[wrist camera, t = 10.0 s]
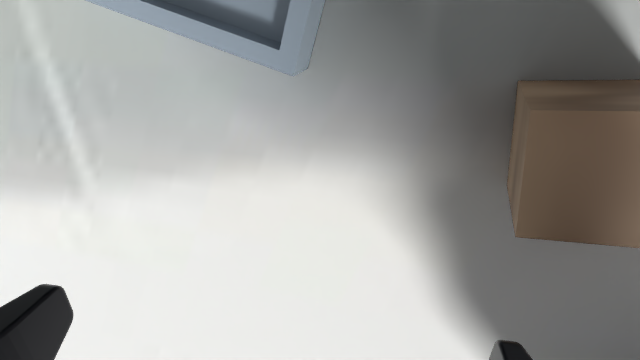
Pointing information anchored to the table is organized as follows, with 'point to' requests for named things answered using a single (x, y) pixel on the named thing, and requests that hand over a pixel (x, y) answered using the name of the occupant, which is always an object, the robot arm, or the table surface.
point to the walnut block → (576, 161)
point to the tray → (237, 26)
